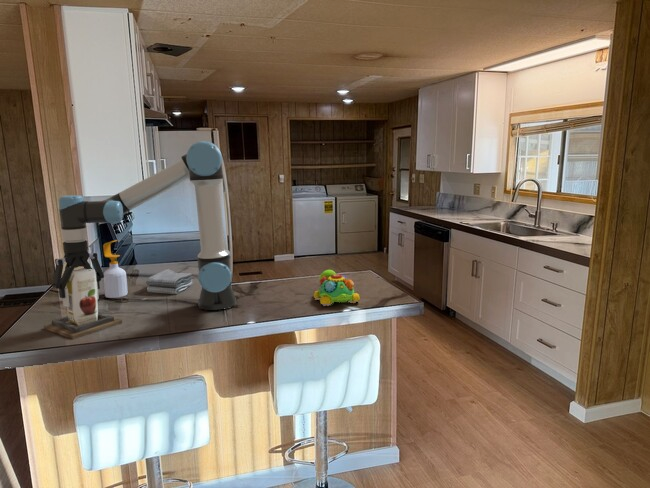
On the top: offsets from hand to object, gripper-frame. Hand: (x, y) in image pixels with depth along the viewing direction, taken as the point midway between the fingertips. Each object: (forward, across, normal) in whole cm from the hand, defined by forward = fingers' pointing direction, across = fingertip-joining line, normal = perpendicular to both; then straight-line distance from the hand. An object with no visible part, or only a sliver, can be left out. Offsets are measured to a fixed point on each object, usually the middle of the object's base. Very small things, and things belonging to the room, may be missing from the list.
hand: (81, 302), depth 159 cm
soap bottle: (+9, -29, -24) cm, 39 cm away
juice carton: (+7, 0, 0) cm, 7 cm away
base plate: (+9, 0, 0) cm, 9 cm away
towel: (+9, -49, -12) cm, 51 cm away
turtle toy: (+9, -73, +61) cm, 96 cm away
